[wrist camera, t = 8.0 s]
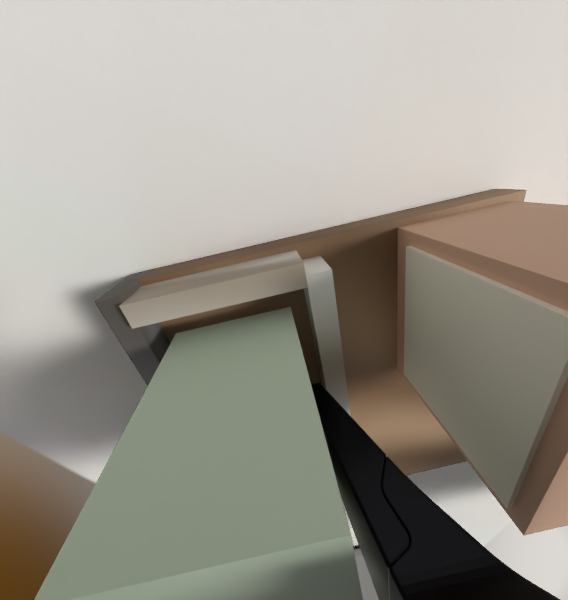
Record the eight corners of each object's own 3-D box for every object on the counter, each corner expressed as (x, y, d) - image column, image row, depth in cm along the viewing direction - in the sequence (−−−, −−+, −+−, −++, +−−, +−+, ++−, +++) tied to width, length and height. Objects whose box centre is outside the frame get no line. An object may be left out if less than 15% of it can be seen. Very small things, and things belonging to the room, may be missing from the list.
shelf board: (452, 442, 17) (486, 487, 14) (243, 491, 17) (241, 544, 14) (495, 188, 9) (578, 191, 7) (127, 275, 9) (83, 307, 7)
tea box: (290, 306, 8) (351, 534, 3) (317, 428, 11) (373, 655, 6) (171, 334, 8) (17, 611, 3) (229, 448, 11) (204, 693, 6)
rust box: (510, 201, 8) (952, 235, 3) (481, 348, 11) (683, 498, 6) (393, 228, 8) (632, 310, 3) (394, 368, 11) (517, 537, 6)
